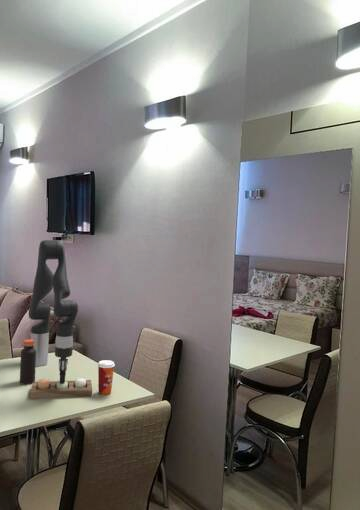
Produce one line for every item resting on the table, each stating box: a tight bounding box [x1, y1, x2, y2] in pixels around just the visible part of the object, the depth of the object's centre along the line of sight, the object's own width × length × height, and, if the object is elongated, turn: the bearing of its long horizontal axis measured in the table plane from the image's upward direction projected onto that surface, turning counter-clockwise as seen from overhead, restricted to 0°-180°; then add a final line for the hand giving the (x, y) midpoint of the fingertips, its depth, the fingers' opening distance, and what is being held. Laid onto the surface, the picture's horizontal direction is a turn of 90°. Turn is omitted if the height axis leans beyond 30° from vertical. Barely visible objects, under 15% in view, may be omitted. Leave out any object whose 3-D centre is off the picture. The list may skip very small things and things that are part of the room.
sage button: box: [56, 380, 68, 389], centre depth 183 cm, size 5×5×4 cm
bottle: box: [19, 338, 37, 385], centre depth 192 cm, size 7×7×20 cm
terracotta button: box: [37, 378, 50, 389], centre depth 181 cm, size 5×5×4 cm
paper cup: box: [97, 359, 116, 396], centre depth 186 cm, size 8×8×14 cm
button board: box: [29, 379, 93, 400], centre depth 183 cm, size 12×26×3 cm, turn 105°
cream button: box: [74, 377, 87, 388], centre depth 185 cm, size 5×5×4 cm
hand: (62, 383), depth 183 cm, fingers closed
